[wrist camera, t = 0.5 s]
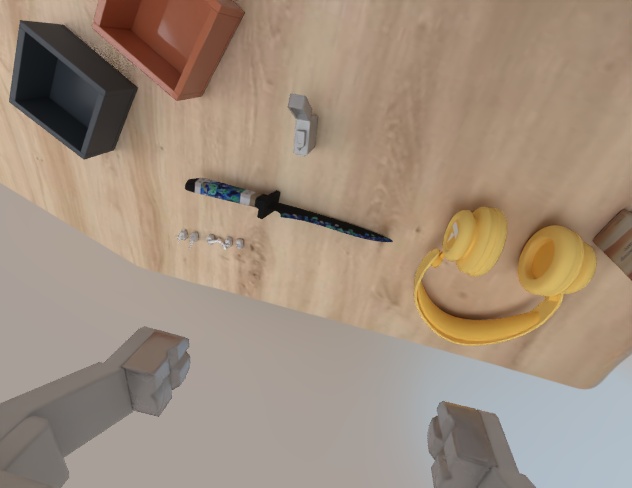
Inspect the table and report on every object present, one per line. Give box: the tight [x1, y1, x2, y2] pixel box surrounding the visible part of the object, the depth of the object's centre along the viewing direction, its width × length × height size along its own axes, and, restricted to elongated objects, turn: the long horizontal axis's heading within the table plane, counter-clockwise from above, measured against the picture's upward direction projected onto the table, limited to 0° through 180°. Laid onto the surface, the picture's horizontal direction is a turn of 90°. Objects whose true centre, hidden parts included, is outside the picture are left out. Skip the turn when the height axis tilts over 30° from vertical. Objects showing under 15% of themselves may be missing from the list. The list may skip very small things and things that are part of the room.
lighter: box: [288, 94, 318, 156], centre depth 37 cm, size 7×2×8 cm, turn 173°
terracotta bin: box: [92, 0, 245, 101], centre depth 36 cm, size 12×12×6 cm
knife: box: [185, 178, 393, 242], centre depth 45 cm, size 31×3×4 cm, turn 72°
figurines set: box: [174, 229, 244, 250], centre depth 53 cm, size 12×3×3 cm, turn 88°
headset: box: [414, 207, 597, 346], centre depth 42 cm, size 18×21×9 cm
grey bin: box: [9, 20, 137, 159], centre depth 43 cm, size 12×12×6 cm
